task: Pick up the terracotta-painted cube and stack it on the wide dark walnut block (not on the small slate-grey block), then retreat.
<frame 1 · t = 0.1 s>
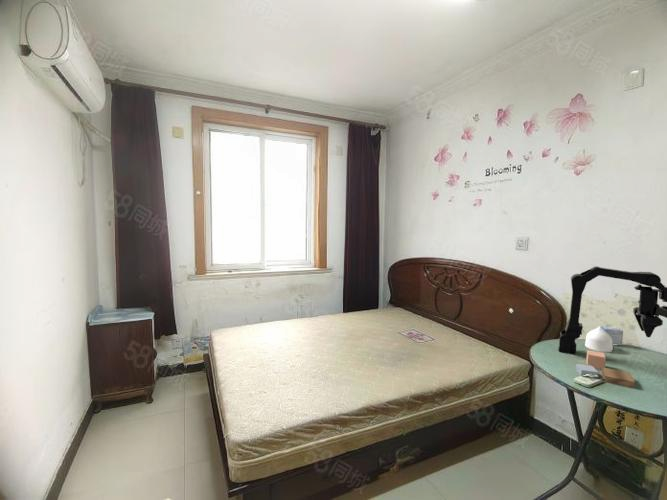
hand: (645, 333, 141), 15 cm above the table, fingers open, 9 cm apart
teardrop: (598, 348, 162), on the table
walnut block: (617, 381, 130), on the table
medicine box: (610, 344, 166), on the table
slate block: (586, 374, 135), on the table
terracotta block: (595, 366, 142), on the table
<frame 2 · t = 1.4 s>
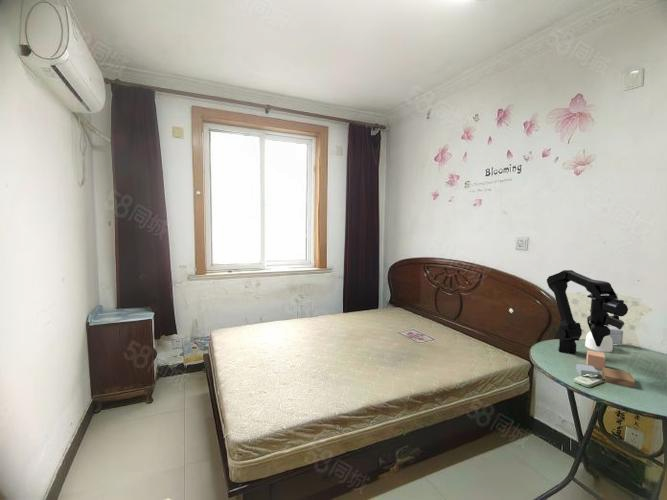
hand: (596, 342, 141), 11 cm above the table, fingers open, 9 cm apart
nothing on the table moved.
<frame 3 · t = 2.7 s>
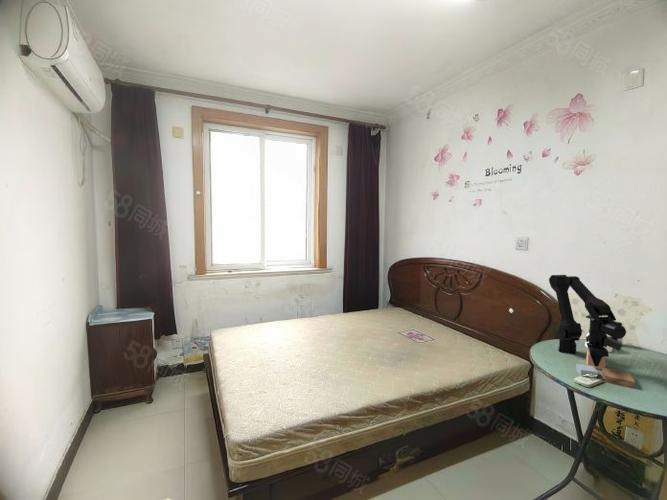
hand: (595, 363, 142), 1 cm above the table, fingers closed on terracotta block, 6 cm apart
terracotta block: (595, 366, 142), on the table, touching gripper
everything else where it was.
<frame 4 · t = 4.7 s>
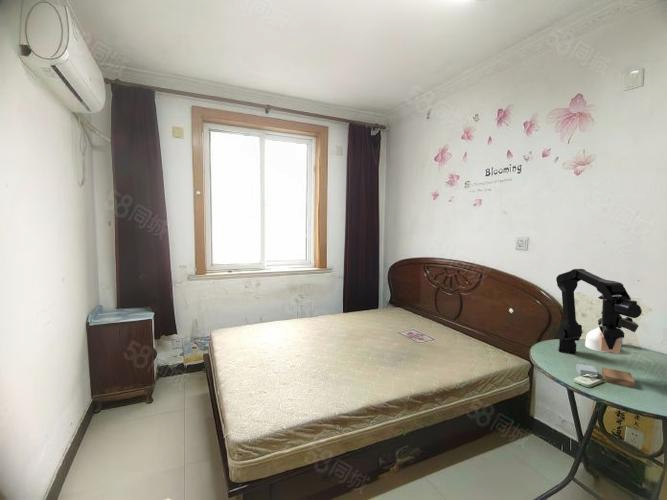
hand: (609, 346, 134), 12 cm above the table, fingers closed on terracotta block, 6 cm apart
terracotta block: (609, 349, 134), point 11 cm above the table, touching gripper
everything else where it was.
when the fingers open (5 cm above the table, at t = 6.7 s): terracotta block drops 1 cm, resting on walnut block.
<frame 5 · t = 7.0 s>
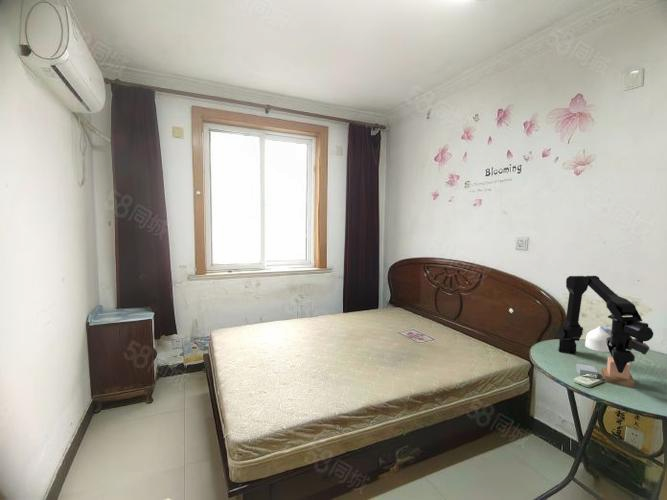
hand: (618, 368, 129), 5 cm above the table, fingers open, 9 cm apart
walnut block: (617, 381, 130), on the table, touching terracotta block
terracotta block: (617, 374, 129), point 2 cm above the table, touching walnut block
everything else where it was.
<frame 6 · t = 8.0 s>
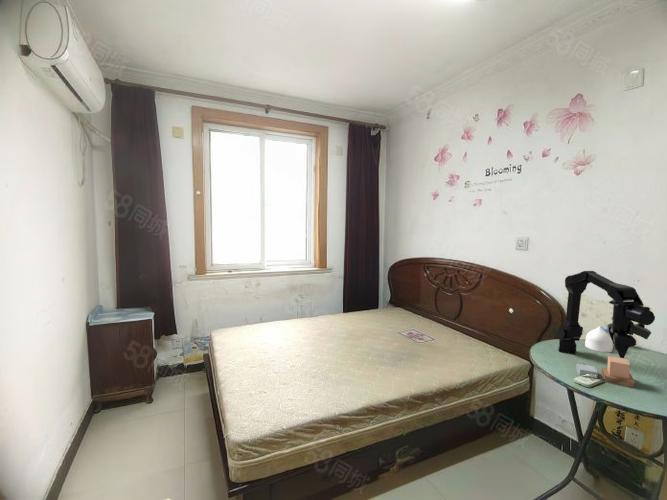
hand: (619, 353, 128), 11 cm above the table, fingers open, 9 cm apart
nothing on the table moved.
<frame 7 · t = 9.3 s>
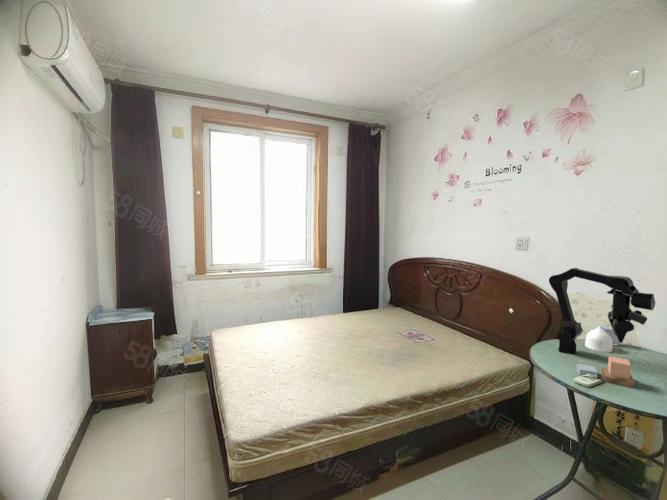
hand: (618, 338, 140), 13 cm above the table, fingers open, 9 cm apart
nothing on the table moved.
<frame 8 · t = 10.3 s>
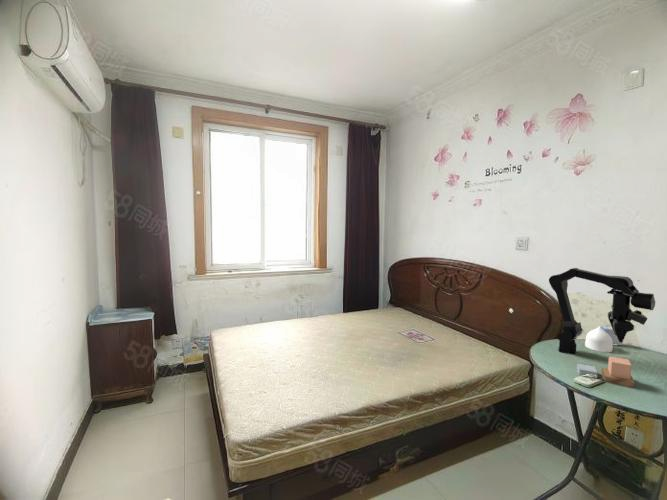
hand: (618, 338, 140), 13 cm above the table, fingers open, 9 cm apart
walnut block: (616, 381, 130), on the table
terracotta block: (618, 374, 129), point 2 cm above the table
everything else where it was.
at the end: terracotta block inside the target area on the walnut block (0.4 cm from its centre), point 3.0 cm above the walnut block's base; terracotta block tilted 0°; the gripper is holding nothing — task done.
